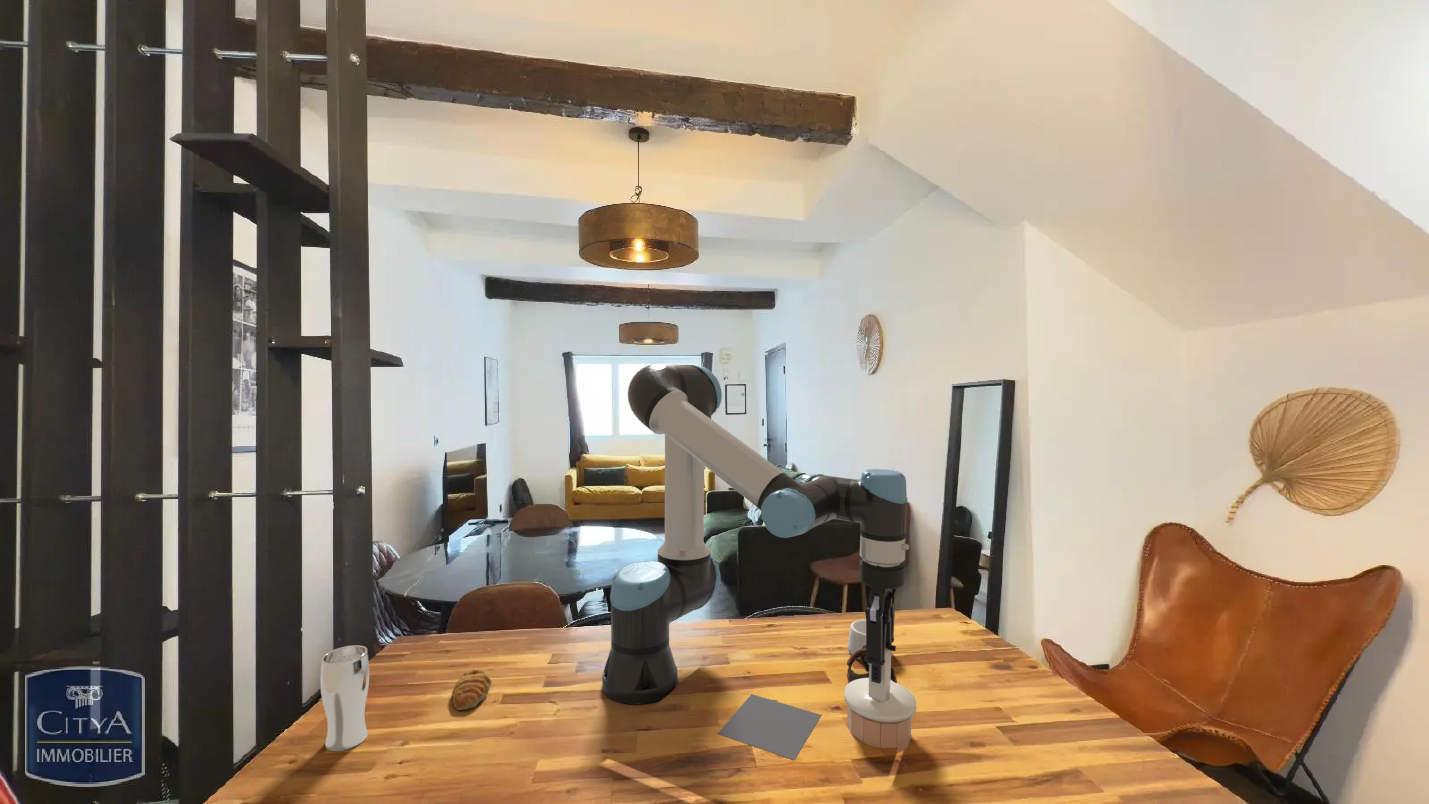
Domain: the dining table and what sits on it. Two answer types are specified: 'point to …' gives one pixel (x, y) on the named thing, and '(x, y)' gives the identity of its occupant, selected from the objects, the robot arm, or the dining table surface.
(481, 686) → the pastry
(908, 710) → the lid
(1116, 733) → the dining table surface
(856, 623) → the mug
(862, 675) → the broken pottery
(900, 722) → the bowl
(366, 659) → the beer glass
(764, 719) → the mat
